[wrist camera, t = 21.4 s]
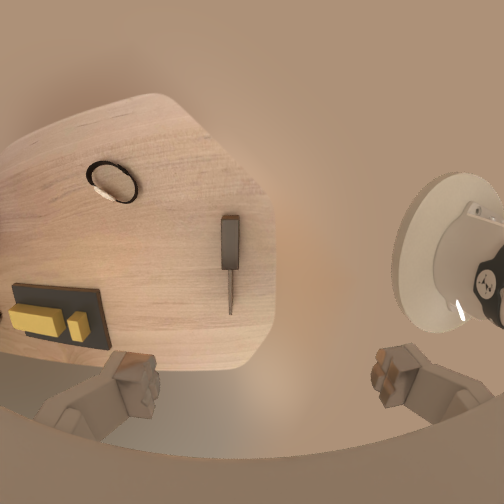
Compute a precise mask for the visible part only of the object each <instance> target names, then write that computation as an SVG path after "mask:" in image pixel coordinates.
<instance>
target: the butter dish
mask: <svg viewBox="0 0 504 504" xmlns="http://www.w3.org/2000/svg"><path fill="white" fill-rule="evenodd" d="M12 290H13V294H14V298H15V301H16V304H17V303H20V304H26V305H33V306H40V307H48V308H56V309H61V310H62V314H63V318H64V322H65V325H66V329H65V330H64V331H63V332H62V333H61V335H60V336H59V337H53V336H48V335H42V334H37V333H33V332H28V331H25V334H26V336H29V337H34V338H38V339H43V340H48V341H53V342H58V343H64V344H69V345H75V346H81V347H88V348H94V349H102V350H110V348H111V347H112V346H111V342H110V338H109V334H108V330H107V325H106V321H105V317H104V312H103V307H102V302H101V297H100V292H99V289H83V288H68V287H54V286H42V285H30V284H19V283H15V284H13V285H12ZM76 311H79V312H86V314H87V319H88V323H89V327H90V331H91V332H90V334H89V335H88V336H87V337H86V339H85V340H84V341H83V342H79V341H73V340H72V337H71V334H70V330H69V327H68V323H67V319H68V318H69V317H70V316H72V315H73V314H74V313H75V312H76Z"/></svg>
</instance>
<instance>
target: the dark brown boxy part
mask: <svg viewBox="0 0 504 504" xmlns="http://www.w3.org/2000/svg"><path fill="white" fill-rule="evenodd" d="M221 252H222V270H228V275H229V315H232V306H233V293H232V270H238V269H239V215H223V217H222V219H221Z"/></svg>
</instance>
